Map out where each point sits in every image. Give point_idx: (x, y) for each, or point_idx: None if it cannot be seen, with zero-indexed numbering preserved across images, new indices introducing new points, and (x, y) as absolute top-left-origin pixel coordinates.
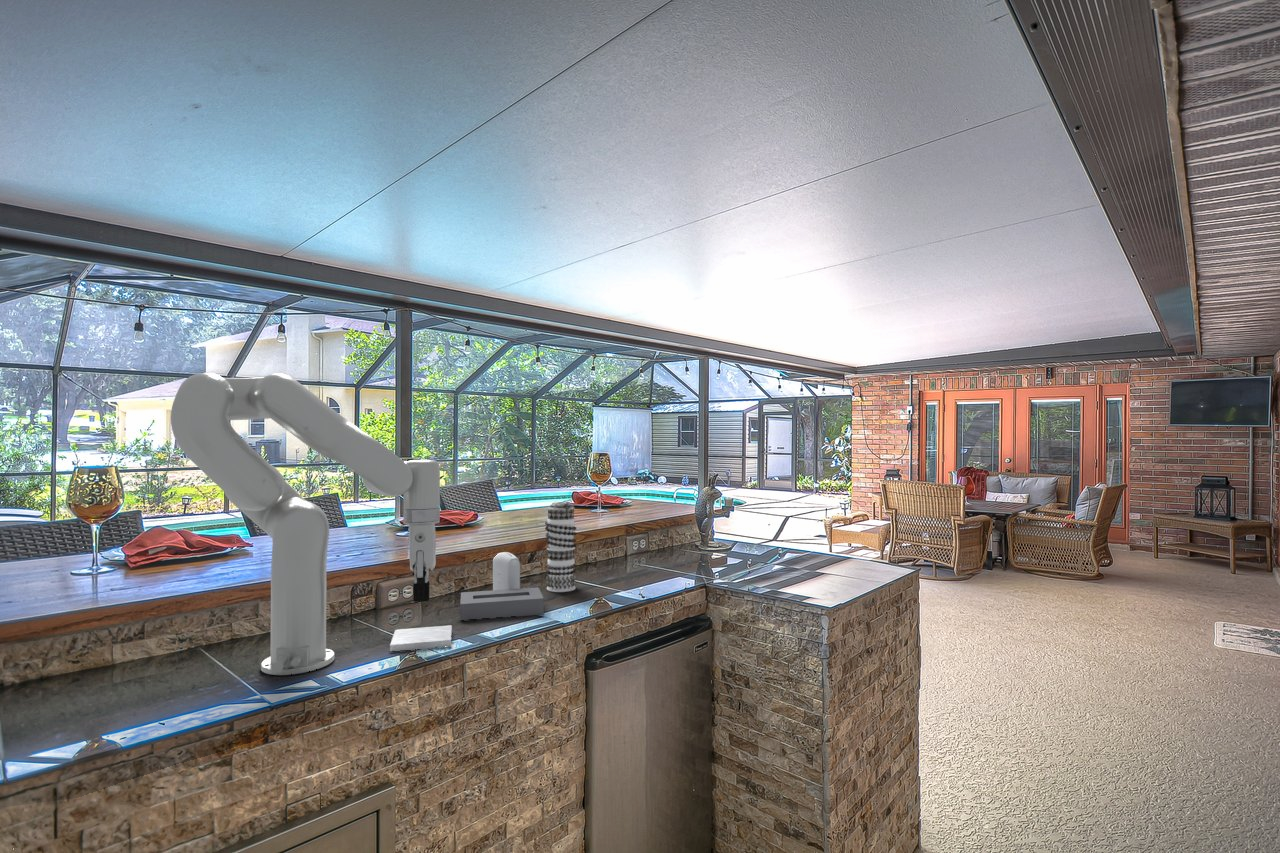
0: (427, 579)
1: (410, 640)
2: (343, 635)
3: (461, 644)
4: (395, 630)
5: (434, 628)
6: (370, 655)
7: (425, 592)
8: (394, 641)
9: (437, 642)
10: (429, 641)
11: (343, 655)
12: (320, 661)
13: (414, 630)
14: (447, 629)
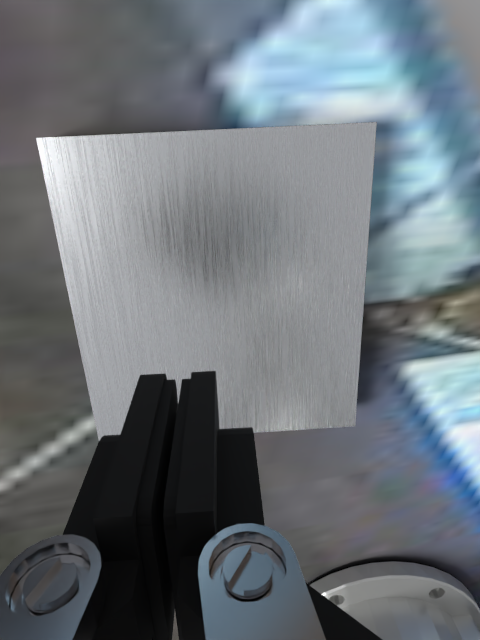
0: (305, 585)
1: (312, 350)
2: None
3: (338, 55)
4: None
5: (102, 248)
6: (359, 466)
7: (218, 449)
8: (304, 417)
9: (369, 205)
10: (364, 252)
11: (324, 545)
12: (445, 595)
13: (129, 353)
14: (138, 161)
